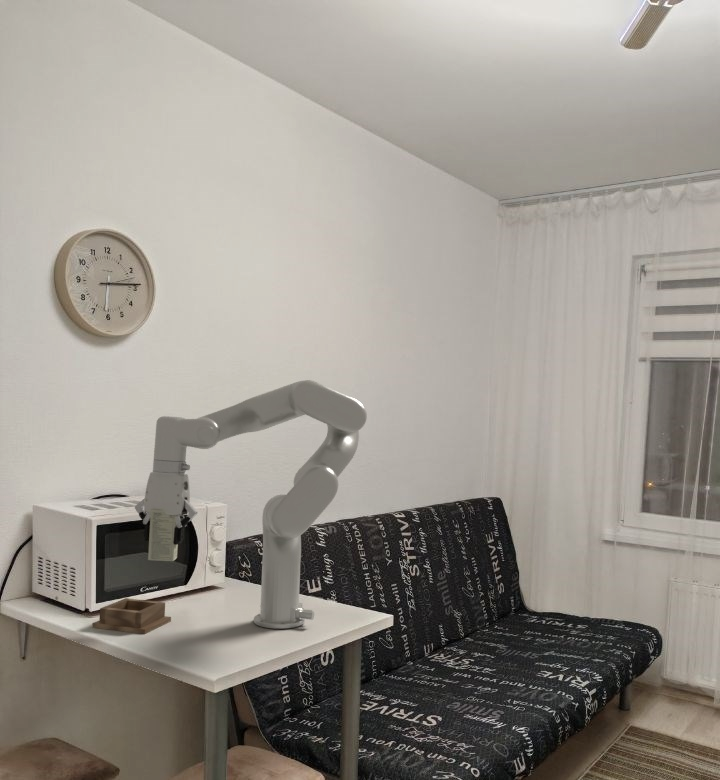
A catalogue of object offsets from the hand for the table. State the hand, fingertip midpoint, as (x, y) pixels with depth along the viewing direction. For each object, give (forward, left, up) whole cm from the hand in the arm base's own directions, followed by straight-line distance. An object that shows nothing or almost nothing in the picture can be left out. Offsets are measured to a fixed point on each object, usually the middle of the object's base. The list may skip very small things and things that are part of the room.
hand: (163, 541), depth 186 cm
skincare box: (0, 0, -4) cm, 4 cm away
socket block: (+7, 0, -20) cm, 22 cm away
